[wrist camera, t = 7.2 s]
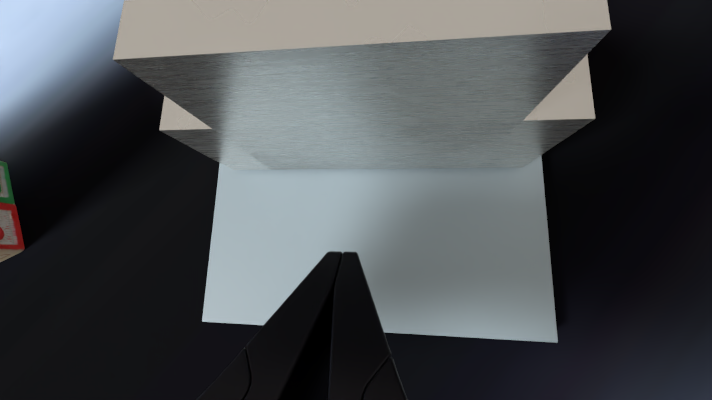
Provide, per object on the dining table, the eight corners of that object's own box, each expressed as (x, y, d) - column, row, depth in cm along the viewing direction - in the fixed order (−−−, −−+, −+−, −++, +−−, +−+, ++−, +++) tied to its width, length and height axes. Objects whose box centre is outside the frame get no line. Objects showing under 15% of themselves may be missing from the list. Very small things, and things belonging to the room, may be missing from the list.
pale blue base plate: (696, 344, 13) (887, 401, 8) (214, 317, 15) (130, 346, 10) (634, -33, 16) (740, -159, 11) (247, -1, 19) (196, -91, 14)
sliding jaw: (522, 167, 14) (739, 21, 5) (233, 170, 15) (35, 64, 7) (516, 87, 14) (698, -159, 6) (241, 98, 16) (69, -79, 8)
